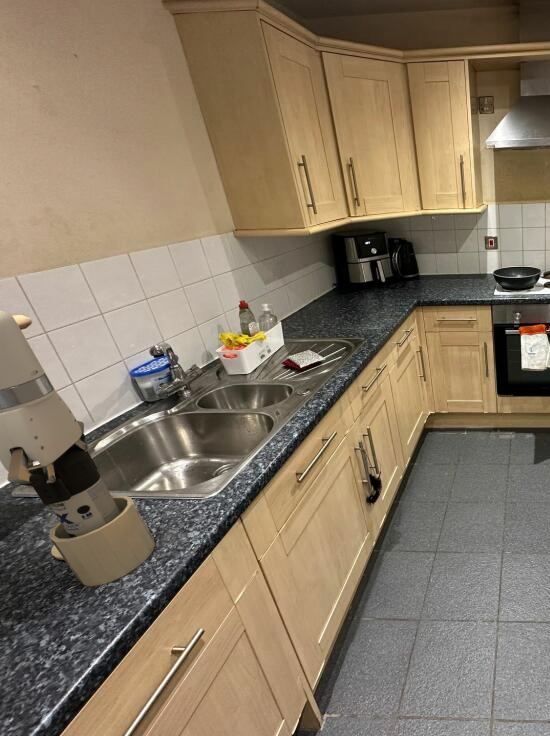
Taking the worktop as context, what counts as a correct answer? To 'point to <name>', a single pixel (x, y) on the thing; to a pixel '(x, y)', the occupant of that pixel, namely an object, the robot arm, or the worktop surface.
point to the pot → (107, 546)
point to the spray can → (82, 495)
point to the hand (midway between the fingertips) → (72, 485)
